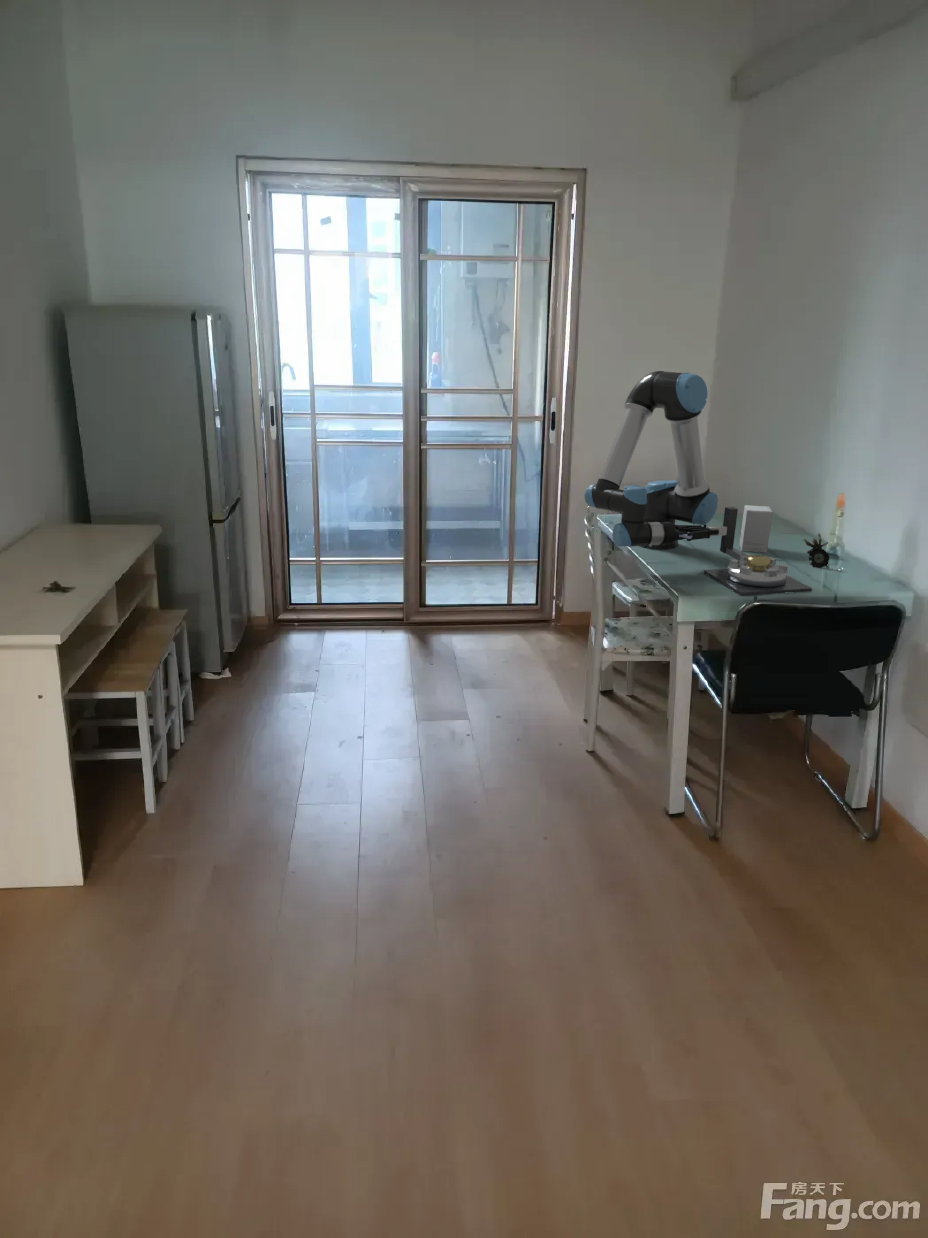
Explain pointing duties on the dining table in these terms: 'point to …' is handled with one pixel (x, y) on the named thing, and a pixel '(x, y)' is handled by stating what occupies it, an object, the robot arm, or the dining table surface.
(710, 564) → the dining table surface
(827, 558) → the artificial flower
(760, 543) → the supplement box
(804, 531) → the dining table surface
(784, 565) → the round grey fixture
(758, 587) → the flange plate
